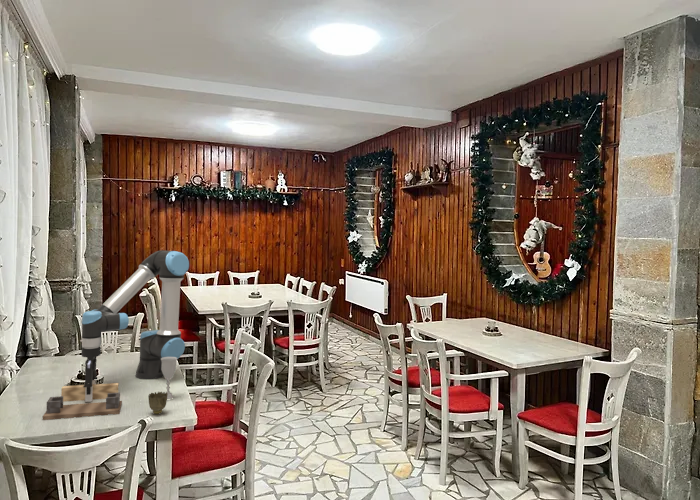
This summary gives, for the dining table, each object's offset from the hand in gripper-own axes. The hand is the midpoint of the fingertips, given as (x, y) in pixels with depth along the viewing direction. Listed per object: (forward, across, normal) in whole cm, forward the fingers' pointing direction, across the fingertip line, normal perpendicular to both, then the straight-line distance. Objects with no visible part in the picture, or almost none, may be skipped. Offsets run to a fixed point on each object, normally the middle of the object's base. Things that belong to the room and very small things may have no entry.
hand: (90, 397), depth 218 cm
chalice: (0, +8, +32) cm, 33 cm away
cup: (0, +26, +28) cm, 38 cm away
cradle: (0, +17, 0) cm, 17 cm away
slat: (+1, 0, 0) cm, 1 cm away
